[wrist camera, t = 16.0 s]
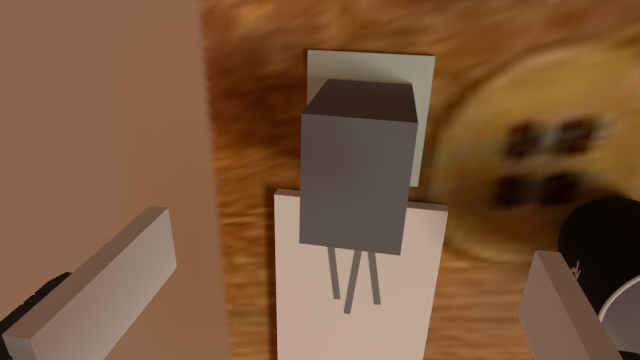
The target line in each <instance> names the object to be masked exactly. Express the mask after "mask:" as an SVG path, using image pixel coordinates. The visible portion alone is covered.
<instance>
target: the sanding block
mask: <svg viewBox="0 0 640 360" xmlns="http://www.w3.org/2000/svg"><path fill="white" fill-rule="evenodd" d="M417 129H418V118H417V111H416V105H415V98H414V92H413V85H412V83H405V82H390V81H375V80H360V79H345V78H331V77H329V78H328V80H327V81H326V82H325V83H324V85H323V86H322V87H321V89H320V90H319V91H318V93H317V94H316V95H315V96H314V98H313V99H312V100H311V102H310V103H309V104H308V106H307V107H306V108H305V109H304V111H303V112H302V113H301V160H300V221H299V243H301V244H309V245H317V246H325V247H333V248H341V249H349V250H358V251H366V252H374V253H382V254H390V255H398V256H400V254H401V246H402V239H403V232H404V224H405V217H406V210H407V202H408V195H409V188H410V180H411V173H412V166H413V159H414V151H415V144H416V137H417Z"/></svg>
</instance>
